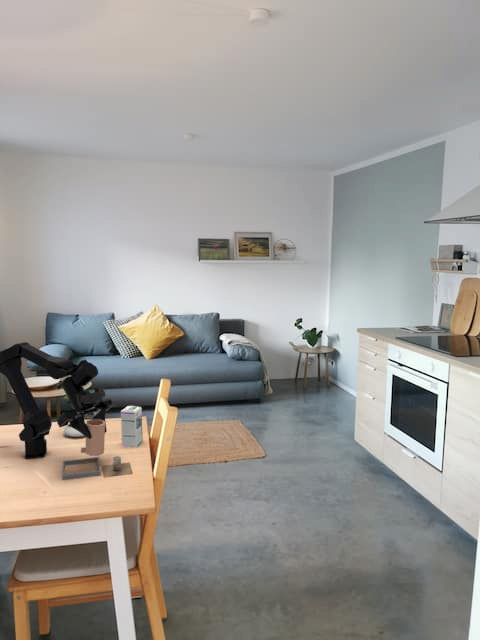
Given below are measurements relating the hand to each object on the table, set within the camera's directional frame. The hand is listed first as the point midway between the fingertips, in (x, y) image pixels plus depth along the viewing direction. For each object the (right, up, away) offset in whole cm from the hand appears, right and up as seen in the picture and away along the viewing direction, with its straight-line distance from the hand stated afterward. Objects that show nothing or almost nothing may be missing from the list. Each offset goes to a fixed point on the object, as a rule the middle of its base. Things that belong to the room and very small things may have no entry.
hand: (98, 435), depth 161 cm
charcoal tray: (-6, -13, +2) cm, 14 cm away
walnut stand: (+5, -13, +3) cm, 14 cm away
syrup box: (+6, -10, +24) cm, 27 cm away
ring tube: (-2, -6, +2) cm, 6 cm away
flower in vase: (-18, -8, +35) cm, 40 cm away
